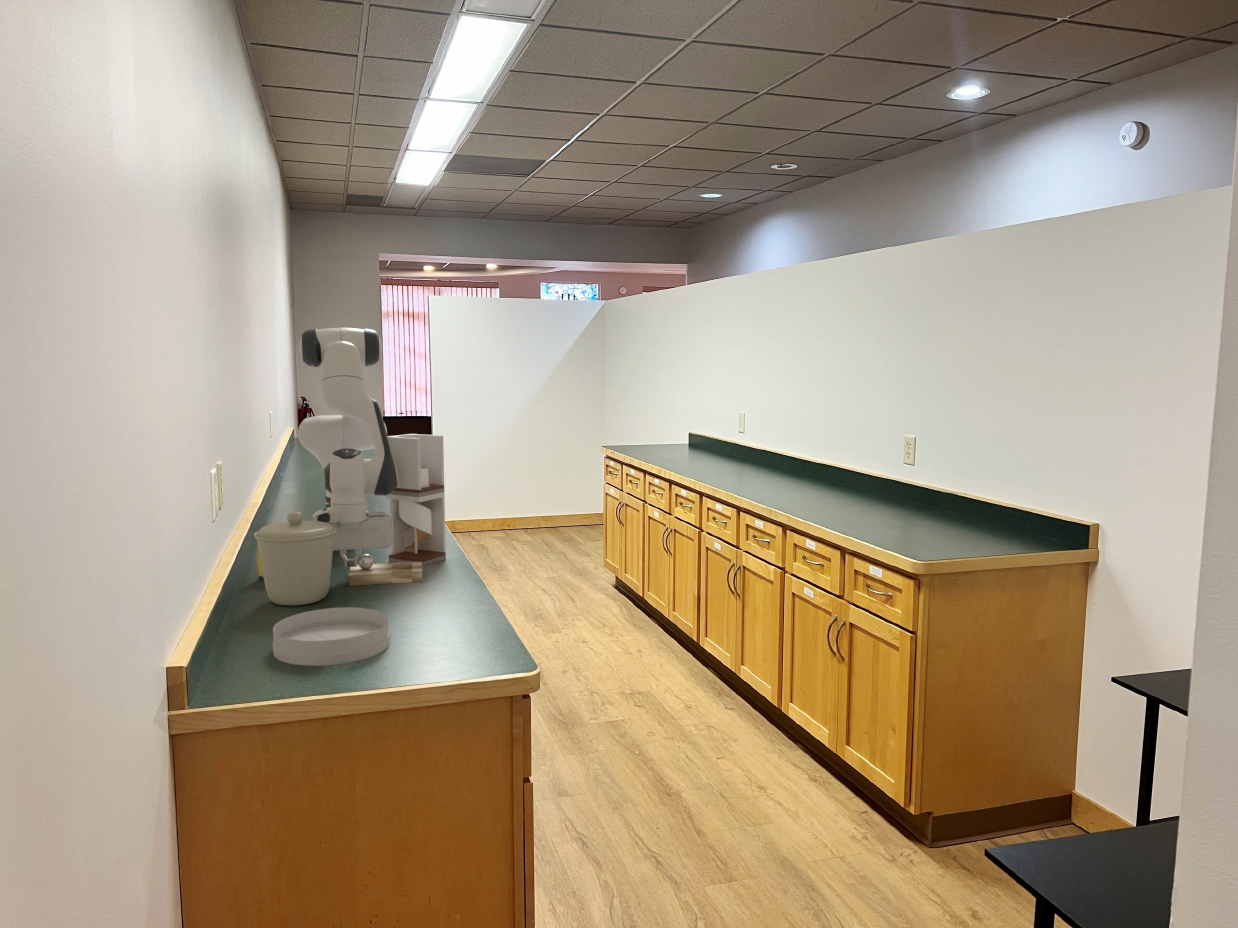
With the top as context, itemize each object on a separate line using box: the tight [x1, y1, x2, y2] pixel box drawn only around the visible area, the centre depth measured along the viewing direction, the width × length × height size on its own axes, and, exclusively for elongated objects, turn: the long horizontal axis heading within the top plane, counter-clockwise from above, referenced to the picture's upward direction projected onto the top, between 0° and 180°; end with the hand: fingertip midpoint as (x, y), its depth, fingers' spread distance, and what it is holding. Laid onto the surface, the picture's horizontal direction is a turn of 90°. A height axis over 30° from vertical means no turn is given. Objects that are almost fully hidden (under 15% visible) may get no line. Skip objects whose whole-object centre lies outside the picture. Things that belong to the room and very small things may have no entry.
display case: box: [386, 433, 447, 567], centre depth 245 cm, size 11×11×35 cm
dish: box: [272, 606, 391, 667], centre depth 174 cm, size 22×22×5 cm
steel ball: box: [357, 553, 375, 570], centre depth 226 cm, size 4×4×4 cm
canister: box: [253, 511, 337, 607], centre depth 205 cm, size 18×18×21 cm
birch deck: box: [347, 561, 423, 587], centre depth 227 cm, size 12×18×2 cm, turn 103°
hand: (351, 566), depth 225 cm, fingers closed
